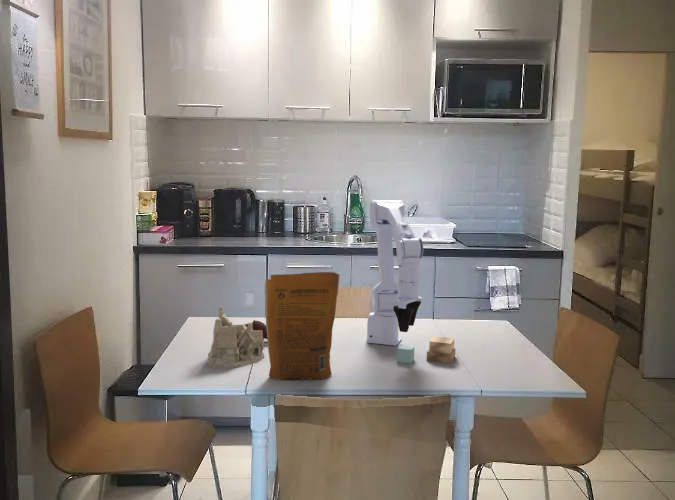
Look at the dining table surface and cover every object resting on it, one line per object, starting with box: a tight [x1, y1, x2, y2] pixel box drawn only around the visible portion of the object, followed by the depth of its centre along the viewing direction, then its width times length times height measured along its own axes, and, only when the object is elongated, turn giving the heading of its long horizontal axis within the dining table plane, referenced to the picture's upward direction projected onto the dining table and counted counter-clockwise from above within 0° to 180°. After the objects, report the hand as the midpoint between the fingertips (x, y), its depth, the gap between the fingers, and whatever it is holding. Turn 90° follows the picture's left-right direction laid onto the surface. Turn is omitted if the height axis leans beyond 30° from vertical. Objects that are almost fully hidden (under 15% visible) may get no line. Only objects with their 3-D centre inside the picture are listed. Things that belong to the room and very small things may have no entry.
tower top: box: [428, 335, 455, 354], centre depth 197 cm, size 6×6×3 cm
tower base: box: [426, 347, 456, 364], centre depth 197 cm, size 7×7×3 cm
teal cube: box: [396, 344, 415, 364], centre depth 195 cm, size 4×4×4 cm
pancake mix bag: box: [264, 271, 340, 381], centre depth 176 cm, size 7×19×28 cm, turn 97°
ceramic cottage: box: [207, 305, 265, 370], centre depth 192 cm, size 16×16×15 cm
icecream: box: [243, 319, 268, 341], centre depth 211 cm, size 7×8×15 cm
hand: (406, 328), depth 193 cm, fingers open, 7 cm apart
